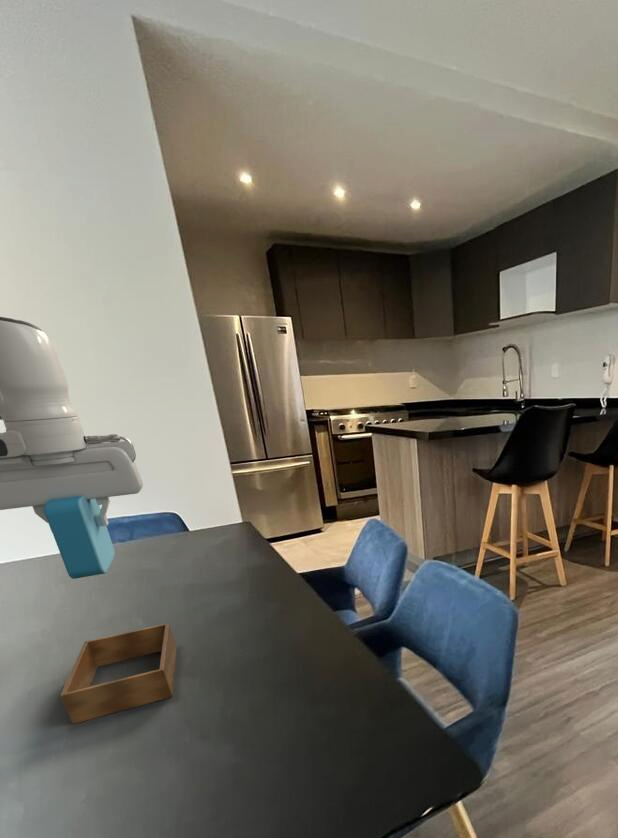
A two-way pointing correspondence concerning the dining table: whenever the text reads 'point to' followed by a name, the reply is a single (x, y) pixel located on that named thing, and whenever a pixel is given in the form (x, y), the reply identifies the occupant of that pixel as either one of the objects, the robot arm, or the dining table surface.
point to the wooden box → (122, 692)
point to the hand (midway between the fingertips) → (81, 528)
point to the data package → (79, 536)
